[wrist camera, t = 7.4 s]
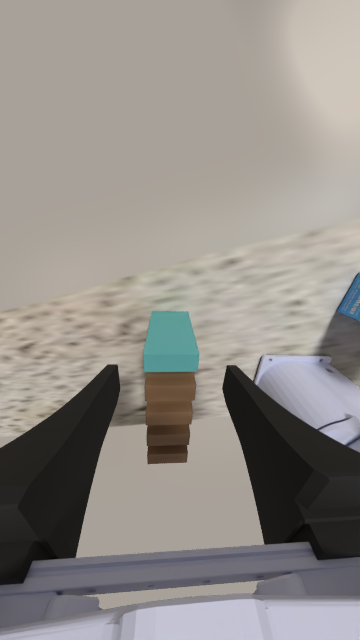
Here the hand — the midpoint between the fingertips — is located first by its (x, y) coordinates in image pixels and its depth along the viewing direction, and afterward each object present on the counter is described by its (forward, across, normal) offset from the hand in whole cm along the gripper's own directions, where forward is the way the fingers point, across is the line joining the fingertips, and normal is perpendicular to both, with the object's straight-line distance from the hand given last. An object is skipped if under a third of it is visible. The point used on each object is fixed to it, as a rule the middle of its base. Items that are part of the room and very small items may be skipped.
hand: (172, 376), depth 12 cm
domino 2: (+9, 0, +3) cm, 10 cm away
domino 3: (+9, 0, +6) cm, 11 cm away
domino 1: (+9, 0, 0) cm, 9 cm away
